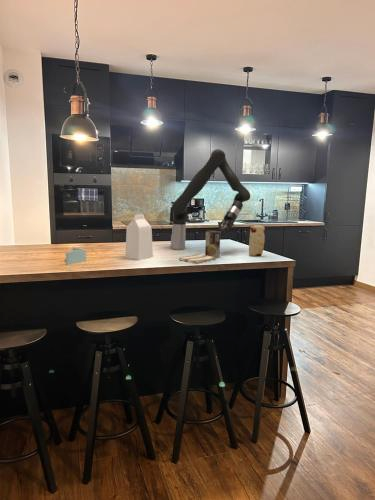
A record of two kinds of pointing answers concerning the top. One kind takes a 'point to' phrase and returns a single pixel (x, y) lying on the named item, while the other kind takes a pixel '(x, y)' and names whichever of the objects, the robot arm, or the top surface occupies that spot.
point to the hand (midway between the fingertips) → (220, 234)
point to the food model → (256, 240)
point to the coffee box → (212, 244)
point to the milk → (139, 239)
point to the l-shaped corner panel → (75, 256)
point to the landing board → (197, 258)
